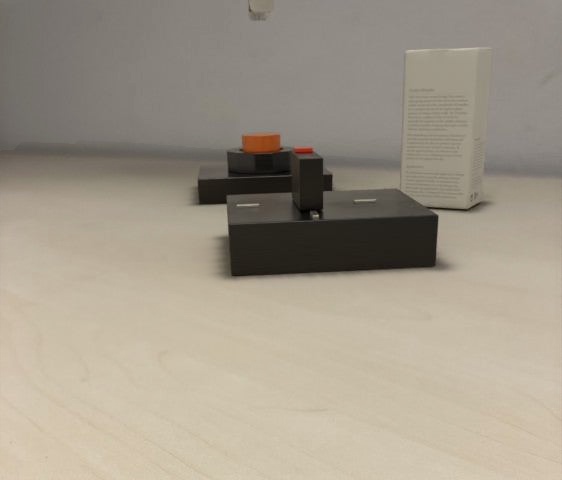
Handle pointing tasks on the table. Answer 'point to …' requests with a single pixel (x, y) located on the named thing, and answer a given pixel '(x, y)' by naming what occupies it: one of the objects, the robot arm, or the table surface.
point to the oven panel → (330, 232)
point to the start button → (261, 142)
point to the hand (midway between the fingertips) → (260, 17)
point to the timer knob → (307, 178)
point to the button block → (250, 175)
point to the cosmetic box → (445, 125)
